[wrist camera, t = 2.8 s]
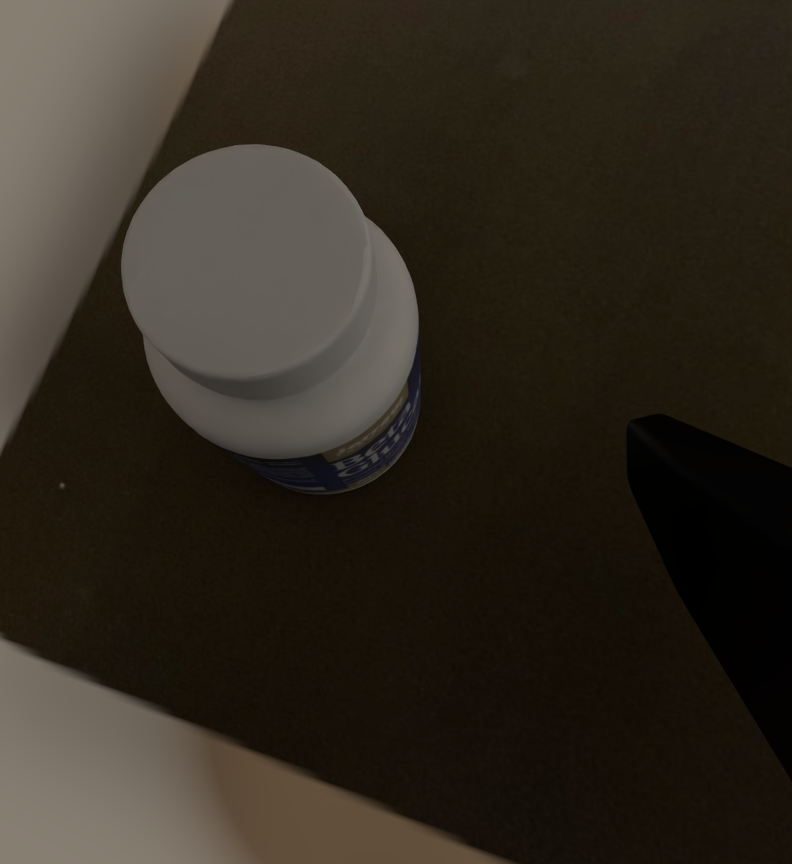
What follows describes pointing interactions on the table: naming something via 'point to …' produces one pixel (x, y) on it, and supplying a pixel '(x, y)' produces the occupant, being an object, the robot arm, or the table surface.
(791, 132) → the table surface
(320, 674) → the table surface
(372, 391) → the pill bottle
